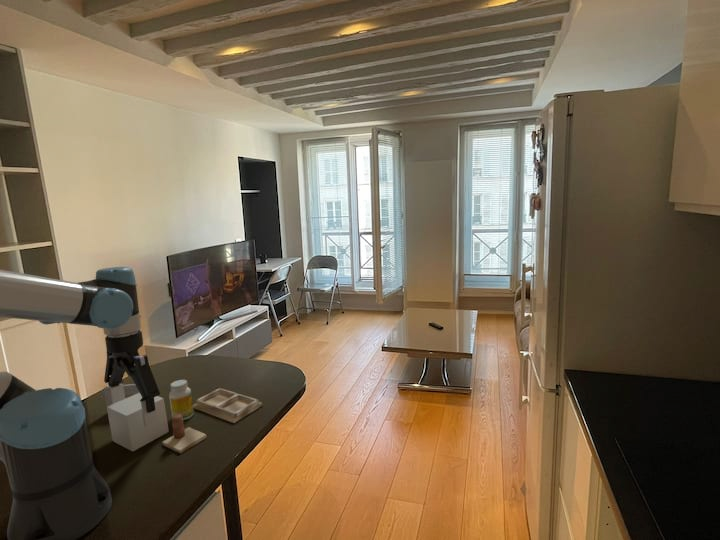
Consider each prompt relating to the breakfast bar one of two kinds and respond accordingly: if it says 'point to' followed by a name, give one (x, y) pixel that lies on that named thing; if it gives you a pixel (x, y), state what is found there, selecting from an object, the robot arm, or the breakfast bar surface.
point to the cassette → (128, 390)
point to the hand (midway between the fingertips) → (134, 417)
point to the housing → (135, 422)
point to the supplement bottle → (181, 399)
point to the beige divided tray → (227, 405)
